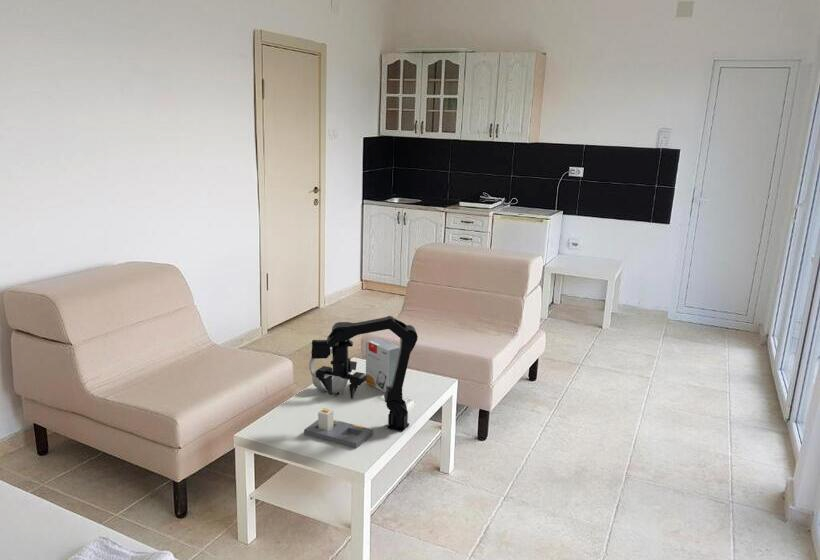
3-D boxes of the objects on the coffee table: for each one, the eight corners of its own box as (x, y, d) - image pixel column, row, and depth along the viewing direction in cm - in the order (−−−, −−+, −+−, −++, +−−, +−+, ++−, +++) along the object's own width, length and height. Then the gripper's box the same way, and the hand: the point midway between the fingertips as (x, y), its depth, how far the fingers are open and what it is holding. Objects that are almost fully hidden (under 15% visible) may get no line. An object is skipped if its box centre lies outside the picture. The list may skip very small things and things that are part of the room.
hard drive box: (364, 383, 283) (365, 340, 278) (378, 379, 288) (379, 336, 283) (387, 394, 272) (388, 349, 267) (401, 390, 277) (402, 346, 272)
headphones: (305, 391, 273) (304, 346, 268) (315, 384, 280) (315, 341, 275) (344, 399, 265) (344, 354, 261) (354, 392, 273) (354, 348, 268)
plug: (333, 430, 239) (333, 408, 237) (327, 434, 235) (327, 413, 233) (324, 427, 240) (324, 406, 238) (318, 432, 237) (318, 410, 235)
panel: (372, 434, 236) (372, 428, 236) (356, 448, 226) (356, 442, 225) (322, 421, 246) (322, 416, 245) (304, 434, 235) (304, 428, 234)
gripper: (373, 354, 237) (373, 393, 241) (330, 346, 245) (331, 385, 249) (358, 364, 228) (359, 404, 231) (313, 356, 235) (315, 395, 239)
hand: (341, 397), depth 238 cm, fingers open, 9 cm apart
